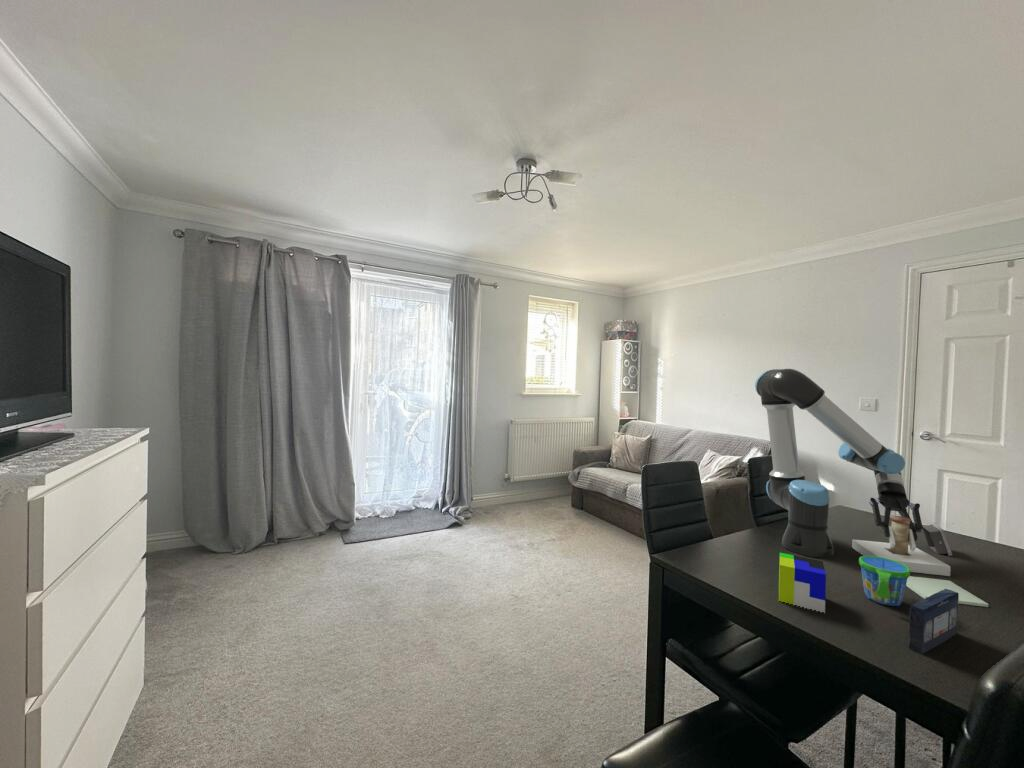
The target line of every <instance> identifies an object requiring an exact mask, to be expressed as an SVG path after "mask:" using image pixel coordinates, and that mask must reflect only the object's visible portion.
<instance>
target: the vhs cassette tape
mask: <svg viewBox="0 0 1024 768" xmlns="http://www.w3.org/2000/svg"><path fill="white" fill-rule="evenodd" d="M958 599H959V595H958V593H957V592H954V591H952V590H948V589H944V590H942V591H939V592H938V593H935V594H933V595H931V596H930V597H927V598H925V599H924V598H922V599H921V600H918V601H917V602H915V603H913V604H911V605H910V606H909V624H908V625H909V629H908V646H907V647H908V649H909V650H911V651H913V652H916V653H919V654H921V655H924V654H926V653H927V652H928V651H930V650H932V649H934V648H936V647H938V646H939V645H941V644H943V643H945V642H947V641H948V640H949V639H951V638H952V636H953V637H955V636H956V635H957V634H958V619H959V618H958V616H959V614H958V613H959V603H958Z"/></svg>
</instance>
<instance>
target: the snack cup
mask: <svg viewBox="0 0 1024 768" xmlns="http://www.w3.org/2000/svg"><path fill="white" fill-rule="evenodd" d="M858 564H859V566H860V569H861V571H860V572H861V577H862V578H861V579H862V584H863V591H864V594H865V596H866V597H867V599H869V600H872V601H873V602H875V603H878V604H880V605H886V606H889V607H890V606H891V607H895V606H896V607H899V606H901V604H902V602H903V599H904V594H905V590H906V588H907V586H906V583H907V578H908V577H909V576H911V572H910V569H909V568H908V567H907V566H905V565H904V564H902V563H899V562H897V561H894V560H890V559H887V558H882V557H877V556H863V555H861V556H860V557H859V558H858Z"/></svg>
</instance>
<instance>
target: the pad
mask: <svg viewBox="0 0 1024 768" xmlns="http://www.w3.org/2000/svg"><path fill="white" fill-rule="evenodd" d="M907 587H908V589H910V590H911V591H913V592H914V593H915V594H917V595H918V596H920V597H921V598H922V599H925V598H927V597H930V596H931V595H933V594H935V593H938V592H939V591H942V590H944V589H948V590H952V591H954V592H957V593H958V595H959V599H958V605H959V604H962V605H968V606H975V607H976V606H978V607H984V608H989V603H987V602H985V601H984V600H982V599H981V598H979V597H978V596H976V595H975V594H972V593H971V592H969V591H967V590H966V589H963V587H961V586H959V585H958V584H955V583H954V582H953V581H952V580H948V579H947V580H946V579H940V578H929V577H921V576H911V575H910V576H909V577H908V578H907V583H906V588H907Z"/></svg>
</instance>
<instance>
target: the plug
mask: <svg viewBox="0 0 1024 768" xmlns="http://www.w3.org/2000/svg"><path fill="white" fill-rule="evenodd" d="M890 521H891V525H890V526H892V529H893V534H894V539H895V546H894V548H891V547H890V552H891V553H893V554H898V555H908V545H909V524H910V519H909V518H906V517H901V515H890Z"/></svg>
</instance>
